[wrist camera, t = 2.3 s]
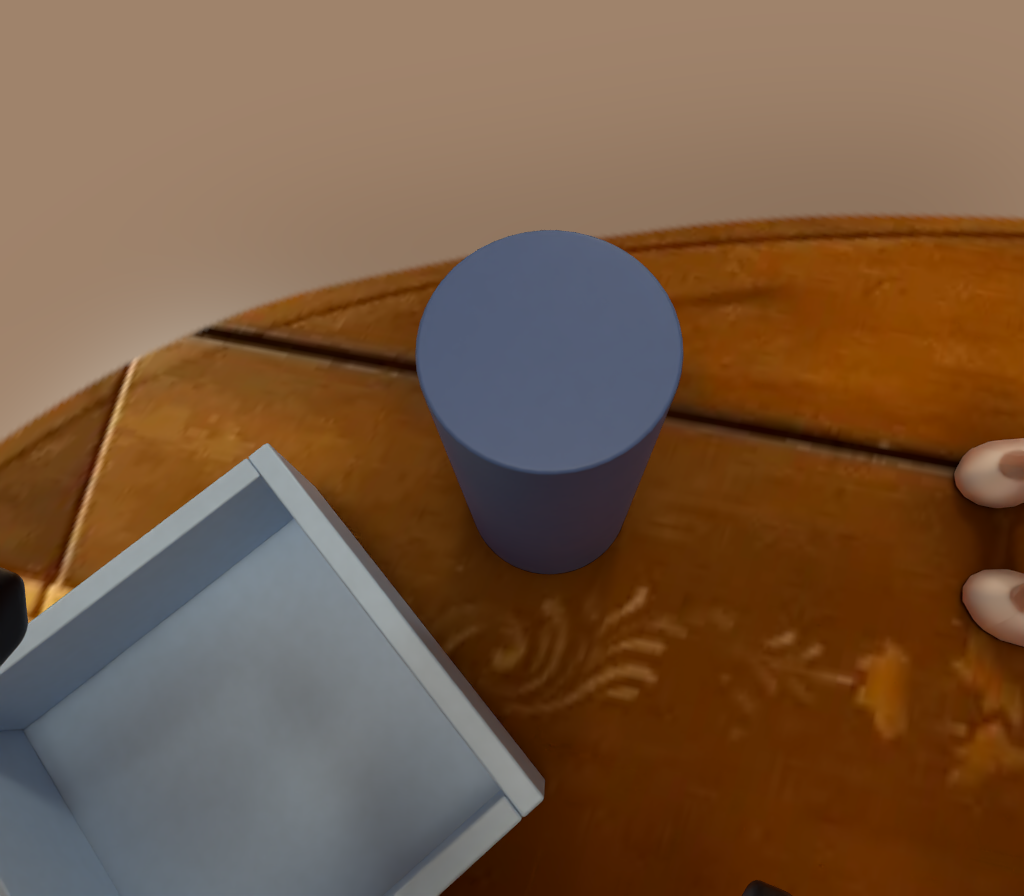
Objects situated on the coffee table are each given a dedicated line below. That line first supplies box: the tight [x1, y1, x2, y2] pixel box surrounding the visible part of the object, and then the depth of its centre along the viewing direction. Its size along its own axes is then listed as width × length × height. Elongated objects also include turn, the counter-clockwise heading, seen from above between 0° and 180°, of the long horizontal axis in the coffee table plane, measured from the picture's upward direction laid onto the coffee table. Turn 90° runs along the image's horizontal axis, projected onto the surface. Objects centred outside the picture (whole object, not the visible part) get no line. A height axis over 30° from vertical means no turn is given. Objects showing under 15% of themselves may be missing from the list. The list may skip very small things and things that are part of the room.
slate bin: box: [0, 443, 545, 896], centre depth 19 cm, size 10×10×4 cm
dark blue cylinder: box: [416, 230, 683, 574], centre depth 18 cm, size 4×4×10 cm
